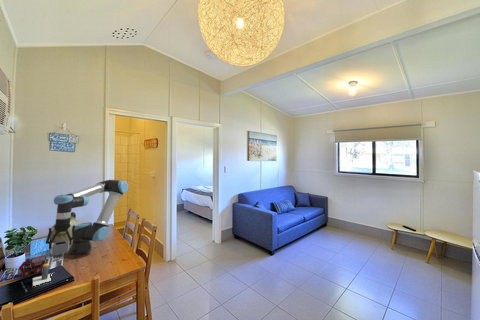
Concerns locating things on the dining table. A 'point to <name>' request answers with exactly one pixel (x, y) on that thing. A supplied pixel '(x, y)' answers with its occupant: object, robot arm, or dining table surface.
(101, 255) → the dining table surface
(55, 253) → the link
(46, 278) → the keeper
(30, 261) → the toy fire truck
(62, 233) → the pitcher
